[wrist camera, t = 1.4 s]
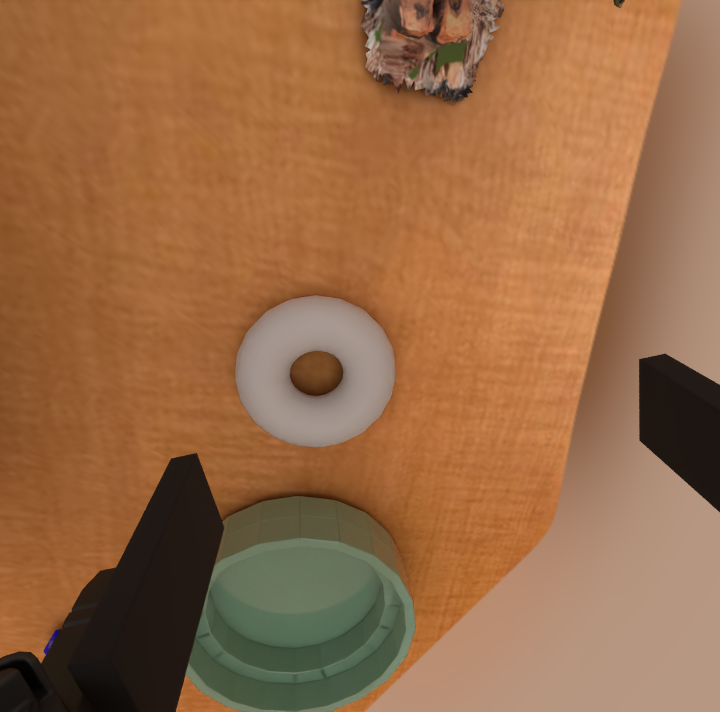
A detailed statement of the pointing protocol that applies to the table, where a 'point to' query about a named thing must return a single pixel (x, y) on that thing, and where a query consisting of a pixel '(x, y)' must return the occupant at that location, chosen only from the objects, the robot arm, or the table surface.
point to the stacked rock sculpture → (430, 42)
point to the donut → (306, 334)
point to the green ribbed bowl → (302, 609)
